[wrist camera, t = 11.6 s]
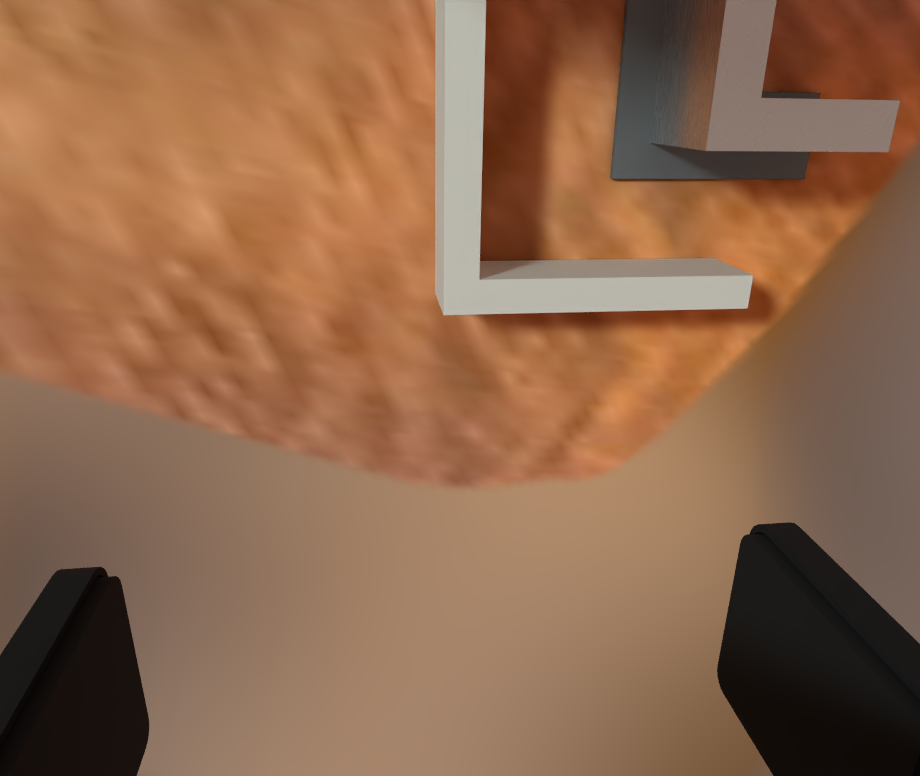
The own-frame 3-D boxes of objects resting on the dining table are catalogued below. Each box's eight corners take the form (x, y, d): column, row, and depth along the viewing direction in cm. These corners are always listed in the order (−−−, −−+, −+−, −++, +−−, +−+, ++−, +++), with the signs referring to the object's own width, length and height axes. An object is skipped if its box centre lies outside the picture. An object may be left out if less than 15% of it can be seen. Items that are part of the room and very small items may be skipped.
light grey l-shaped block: (435, -185, 28) (446, -227, 25) (776, -163, 30) (834, -199, 27) (435, 293, 36) (443, 315, 32) (709, 288, 38) (747, 308, 34)
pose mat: (636, -114, 30) (639, -116, 30) (853, -102, 32) (857, -104, 31) (610, 178, 35) (612, 178, 35) (800, 178, 36) (804, 179, 36)
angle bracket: (677, -105, 30) (746, -150, 25) (850, -96, 31) (954, -138, 26) (650, 142, 34) (705, 150, 29) (805, 143, 35) (888, 151, 30)
